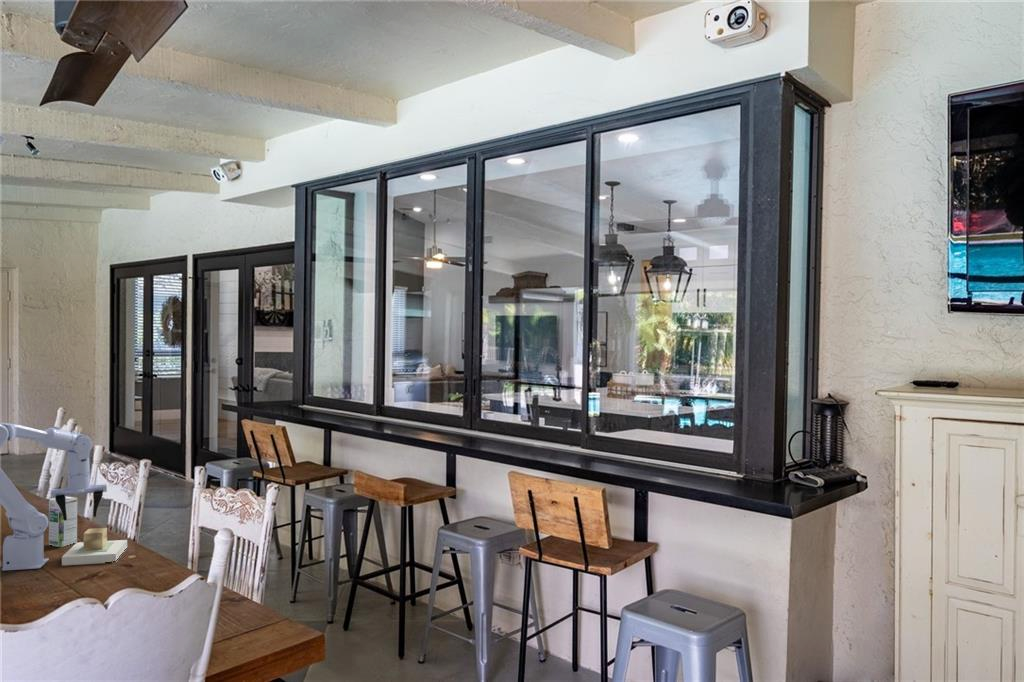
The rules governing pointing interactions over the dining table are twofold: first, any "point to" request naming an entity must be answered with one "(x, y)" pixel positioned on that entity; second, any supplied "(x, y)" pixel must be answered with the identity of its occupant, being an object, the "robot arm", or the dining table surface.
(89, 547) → the birch block
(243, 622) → the dining table surface
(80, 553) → the base plinth
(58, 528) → the syrup box
